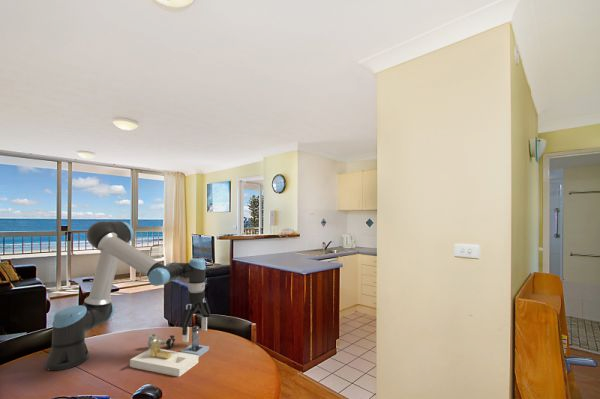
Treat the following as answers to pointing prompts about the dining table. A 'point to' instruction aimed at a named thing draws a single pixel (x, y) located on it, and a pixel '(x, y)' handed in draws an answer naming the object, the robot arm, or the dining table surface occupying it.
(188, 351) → the gray square-hole plate
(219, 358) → the dining table surface
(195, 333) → the drill peg
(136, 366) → the socket board
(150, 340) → the valve
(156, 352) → the yellow l-shaped bracket
